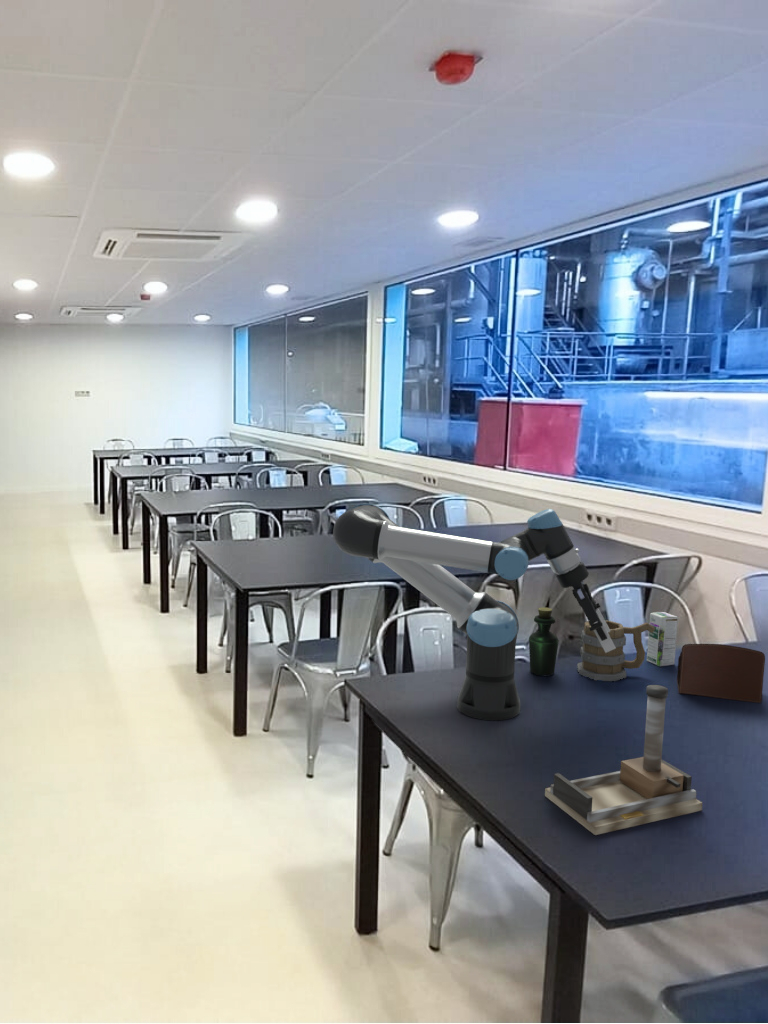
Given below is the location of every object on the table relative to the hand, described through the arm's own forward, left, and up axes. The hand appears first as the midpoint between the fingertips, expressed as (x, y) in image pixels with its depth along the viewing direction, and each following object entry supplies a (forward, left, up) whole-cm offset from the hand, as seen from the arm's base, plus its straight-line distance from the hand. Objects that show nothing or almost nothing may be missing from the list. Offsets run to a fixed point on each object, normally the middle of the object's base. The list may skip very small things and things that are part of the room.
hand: (608, 641), depth 202 cm
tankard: (+6, +20, -15) cm, 25 cm away
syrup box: (+21, +33, -15) cm, 42 cm away
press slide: (+1, -53, -13) cm, 55 cm away
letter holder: (+30, +10, -15) cm, 36 cm away
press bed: (-5, -56, -15) cm, 58 cm away
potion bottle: (-14, +18, -15) cm, 27 cm away
